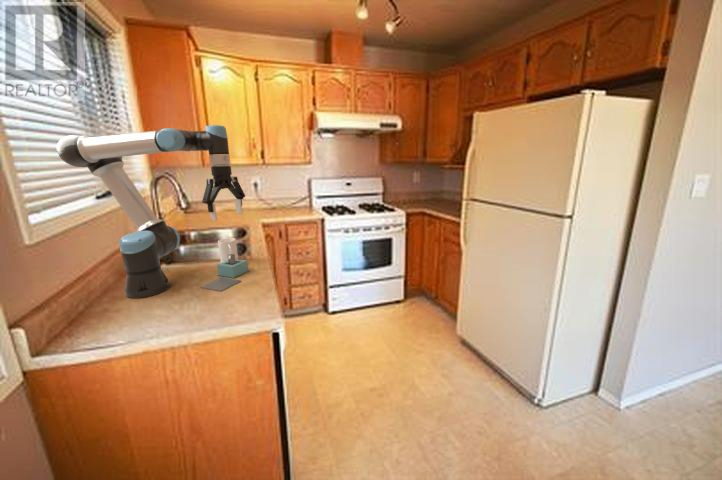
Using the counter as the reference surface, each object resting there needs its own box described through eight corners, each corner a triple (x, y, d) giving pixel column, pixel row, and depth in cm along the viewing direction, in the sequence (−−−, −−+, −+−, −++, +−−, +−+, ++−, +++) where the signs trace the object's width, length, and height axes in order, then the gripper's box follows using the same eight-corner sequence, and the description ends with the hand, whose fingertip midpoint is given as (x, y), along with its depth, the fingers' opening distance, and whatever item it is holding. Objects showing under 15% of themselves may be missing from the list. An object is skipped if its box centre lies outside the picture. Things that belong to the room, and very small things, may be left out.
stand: (216, 276, 143) (213, 257, 141) (233, 269, 152) (231, 250, 150) (234, 279, 139) (231, 259, 137) (250, 271, 148) (247, 252, 146)
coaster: (200, 288, 130) (200, 286, 130) (221, 279, 140) (221, 277, 140) (221, 292, 126) (220, 290, 126) (241, 282, 136) (241, 280, 136)
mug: (241, 265, 156) (238, 242, 153) (222, 269, 152) (218, 244, 149) (237, 259, 166) (234, 236, 163) (219, 262, 162) (216, 239, 159)
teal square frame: (218, 275, 143) (216, 264, 142) (233, 268, 151) (232, 258, 150) (233, 277, 140) (232, 267, 139) (248, 270, 148) (247, 260, 147)
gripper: (200, 167, 119) (208, 223, 124) (250, 164, 140) (255, 212, 146) (186, 167, 122) (195, 221, 127) (237, 164, 143) (242, 211, 149)
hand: (227, 216), depth 137 cm, fingers open, 13 cm apart
